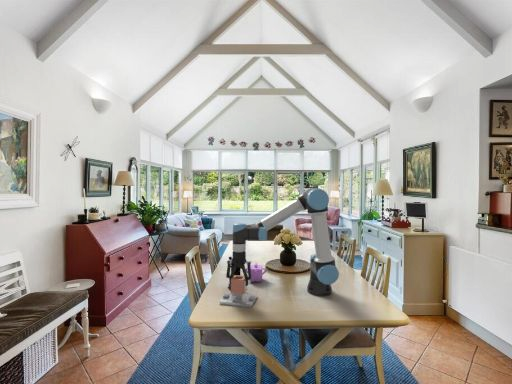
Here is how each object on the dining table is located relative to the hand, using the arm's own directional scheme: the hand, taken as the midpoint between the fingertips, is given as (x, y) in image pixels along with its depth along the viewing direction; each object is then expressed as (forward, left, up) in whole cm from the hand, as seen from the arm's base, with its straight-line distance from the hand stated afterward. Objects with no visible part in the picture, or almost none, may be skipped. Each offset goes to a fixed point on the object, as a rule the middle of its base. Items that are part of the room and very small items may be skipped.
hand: (238, 290), depth 160 cm
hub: (0, 0, 0) cm, 0 cm away
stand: (0, 0, -6) cm, 6 cm away
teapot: (-2, -36, -6) cm, 37 cm away
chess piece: (+7, -17, -6) cm, 19 cm away
